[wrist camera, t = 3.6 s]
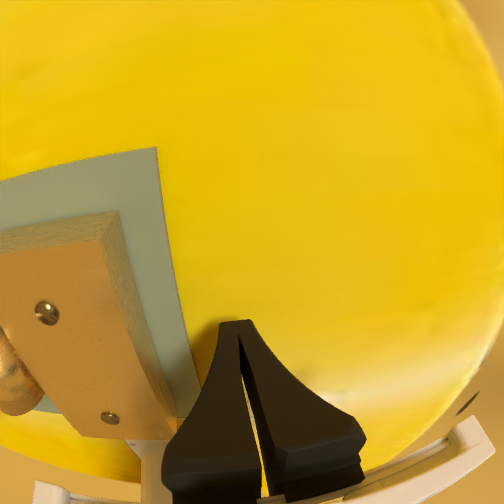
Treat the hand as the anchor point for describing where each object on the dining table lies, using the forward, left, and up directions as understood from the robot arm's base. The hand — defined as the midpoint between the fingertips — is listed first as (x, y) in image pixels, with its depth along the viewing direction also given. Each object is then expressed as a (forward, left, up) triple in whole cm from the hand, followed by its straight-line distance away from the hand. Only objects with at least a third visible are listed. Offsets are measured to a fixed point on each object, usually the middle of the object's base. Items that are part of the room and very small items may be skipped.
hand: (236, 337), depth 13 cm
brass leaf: (0, +9, -1) cm, 9 cm away
